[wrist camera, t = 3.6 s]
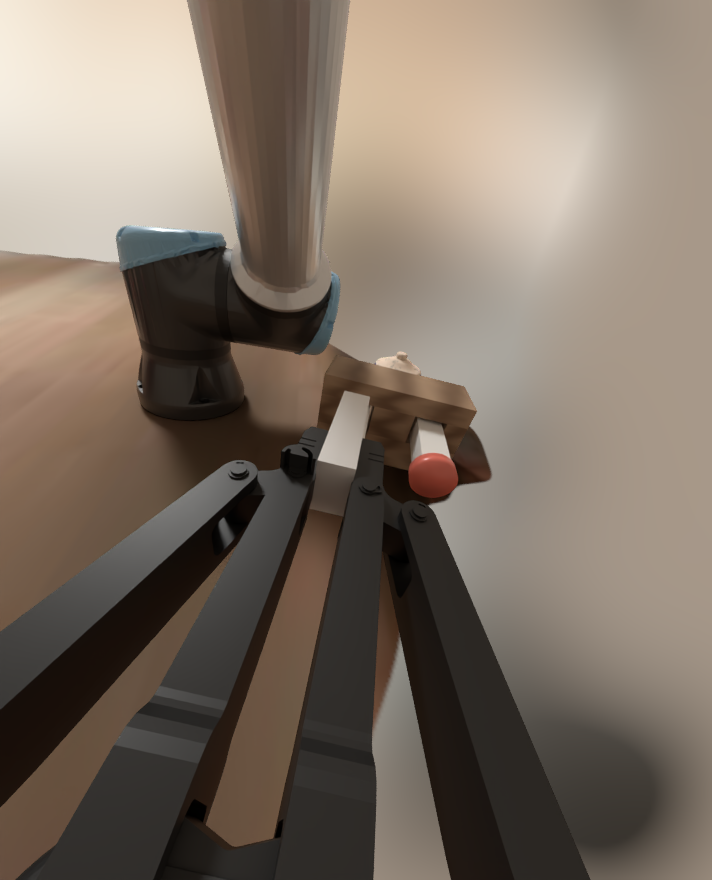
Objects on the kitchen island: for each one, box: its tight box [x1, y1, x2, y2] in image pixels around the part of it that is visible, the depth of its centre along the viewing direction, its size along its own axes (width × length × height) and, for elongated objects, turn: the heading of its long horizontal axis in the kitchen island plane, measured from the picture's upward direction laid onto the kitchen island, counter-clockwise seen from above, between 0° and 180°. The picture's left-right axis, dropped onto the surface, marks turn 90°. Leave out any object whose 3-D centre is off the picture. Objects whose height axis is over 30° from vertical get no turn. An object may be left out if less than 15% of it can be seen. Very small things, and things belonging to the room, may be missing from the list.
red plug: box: [408, 416, 458, 498], centre depth 35 cm, size 5×13×5 cm, turn 173°
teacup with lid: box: [370, 352, 421, 408], centre depth 55 cm, size 12×9×12 cm
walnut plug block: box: [317, 355, 477, 470], centre depth 42 cm, size 20×8×12 cm, turn 83°
